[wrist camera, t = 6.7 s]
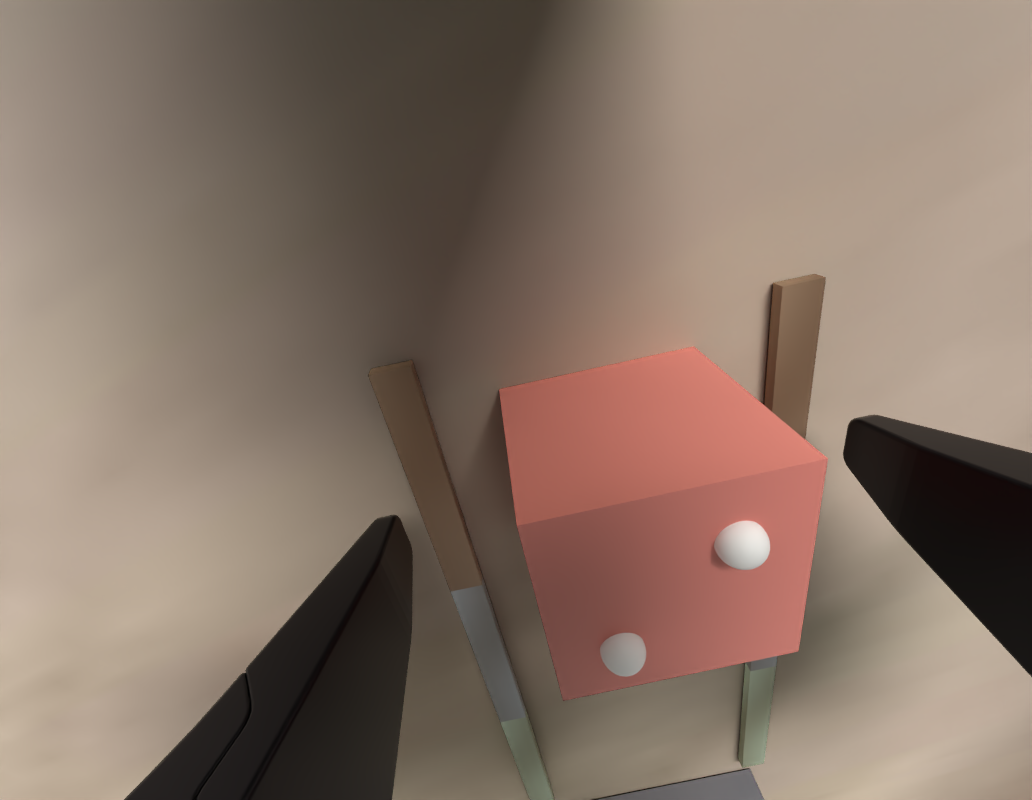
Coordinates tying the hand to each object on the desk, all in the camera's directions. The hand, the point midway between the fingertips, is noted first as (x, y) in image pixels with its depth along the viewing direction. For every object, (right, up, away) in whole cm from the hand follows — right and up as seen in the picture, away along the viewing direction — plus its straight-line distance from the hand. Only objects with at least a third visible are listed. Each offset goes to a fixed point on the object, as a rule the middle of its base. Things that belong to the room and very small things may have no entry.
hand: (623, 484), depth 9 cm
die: (0, +1, +1) cm, 1 cm away
